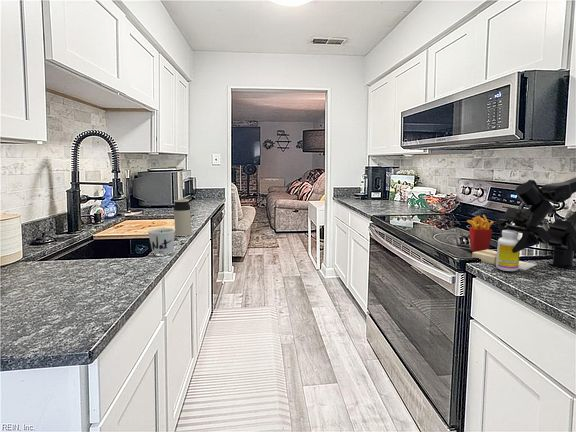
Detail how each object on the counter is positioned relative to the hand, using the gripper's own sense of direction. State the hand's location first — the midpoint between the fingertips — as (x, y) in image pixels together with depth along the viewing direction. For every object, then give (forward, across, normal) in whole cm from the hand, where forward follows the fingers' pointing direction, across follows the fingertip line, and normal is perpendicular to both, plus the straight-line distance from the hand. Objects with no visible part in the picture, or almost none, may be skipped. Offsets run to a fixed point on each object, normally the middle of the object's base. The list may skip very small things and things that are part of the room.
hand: (504, 249), depth 134 cm
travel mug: (+79, -96, -70) cm, 143 cm away
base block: (+1, -13, +10) cm, 16 cm away
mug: (+84, -60, -75) cm, 128 cm away
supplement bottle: (+4, 0, +6) cm, 7 cm away
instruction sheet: (-2, -4, +13) cm, 14 cm away
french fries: (-1, -25, +12) cm, 28 cm away
